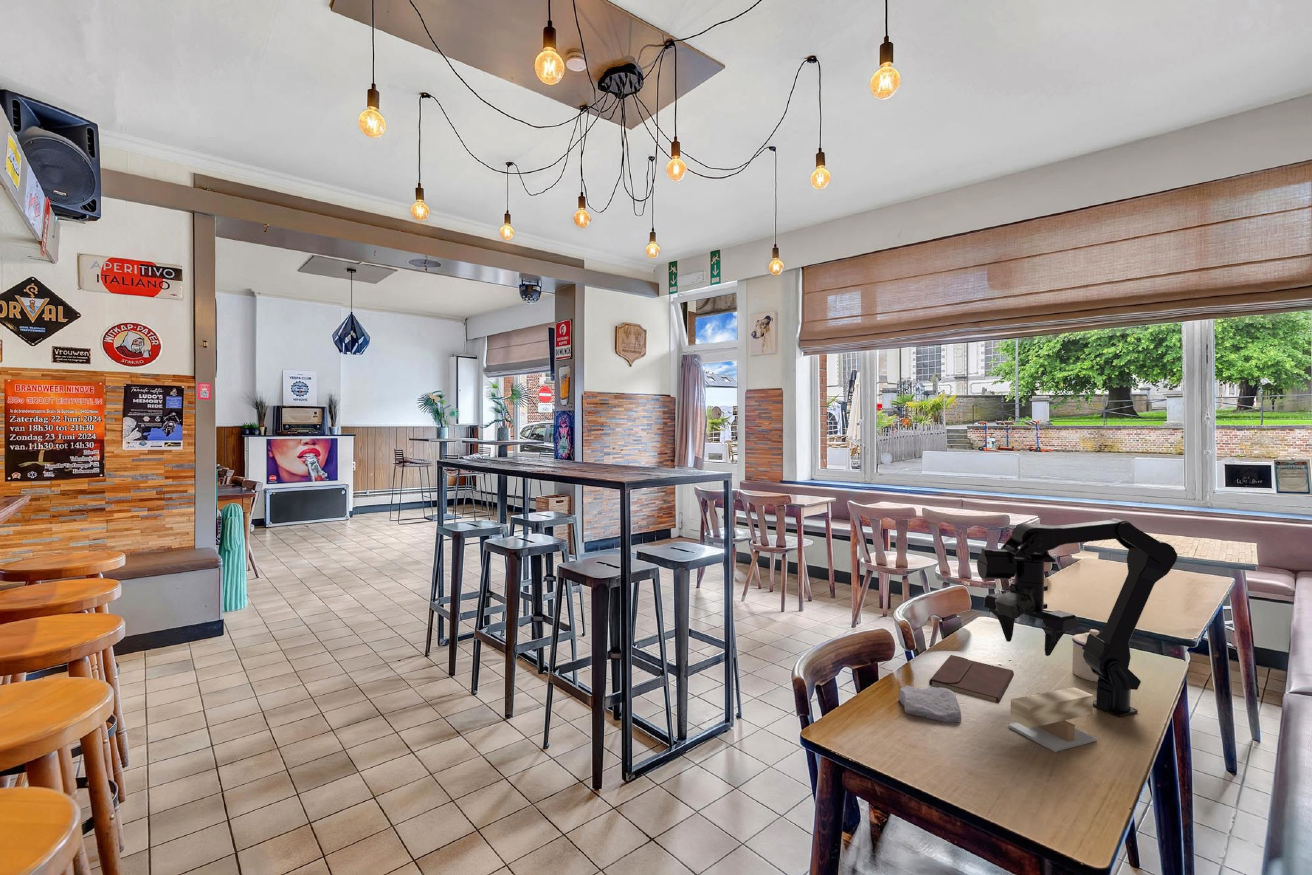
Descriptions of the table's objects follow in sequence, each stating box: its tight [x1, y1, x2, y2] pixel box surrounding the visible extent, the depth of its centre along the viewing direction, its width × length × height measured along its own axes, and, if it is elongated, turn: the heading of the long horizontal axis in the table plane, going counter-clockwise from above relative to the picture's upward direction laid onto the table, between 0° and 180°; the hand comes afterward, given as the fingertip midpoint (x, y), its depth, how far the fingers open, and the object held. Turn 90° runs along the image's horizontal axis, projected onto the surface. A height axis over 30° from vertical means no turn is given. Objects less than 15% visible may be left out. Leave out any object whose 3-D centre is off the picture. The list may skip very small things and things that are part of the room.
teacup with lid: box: [1071, 628, 1100, 683], centre depth 153 cm, size 12×9×12 cm
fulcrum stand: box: [1007, 720, 1097, 753], centre depth 123 cm, size 12×10×4 cm
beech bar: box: [1009, 686, 1094, 728], centre depth 123 cm, size 18×4×4 cm, turn 109°
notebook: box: [928, 654, 1015, 704], centre depth 149 cm, size 15×20×2 cm
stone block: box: [898, 684, 962, 723], centre depth 133 cm, size 12×5×10 cm
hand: (1027, 648), depth 137 cm, fingers open, 9 cm apart
